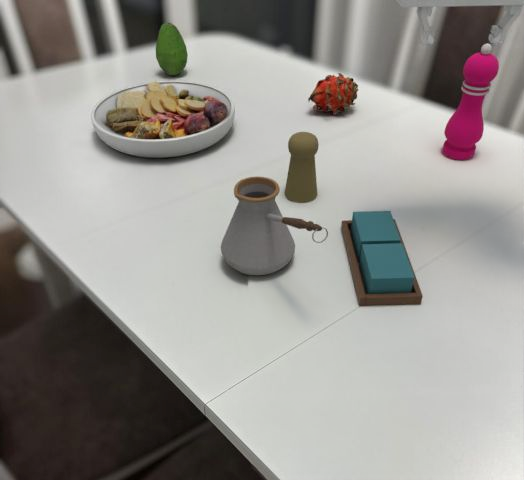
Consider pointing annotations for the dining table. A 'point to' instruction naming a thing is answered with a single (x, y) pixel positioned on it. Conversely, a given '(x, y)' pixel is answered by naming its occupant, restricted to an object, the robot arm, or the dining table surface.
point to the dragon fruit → (334, 94)
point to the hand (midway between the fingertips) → (460, 42)
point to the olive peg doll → (302, 168)
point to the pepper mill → (470, 106)
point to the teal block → (385, 269)
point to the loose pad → (373, 229)
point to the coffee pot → (260, 229)
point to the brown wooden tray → (362, 297)
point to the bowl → (163, 118)
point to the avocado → (171, 50)
